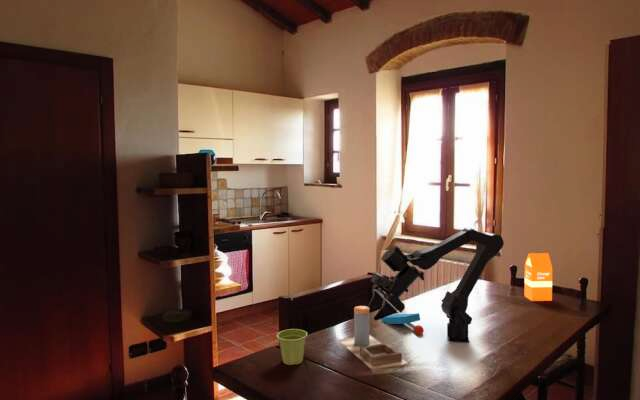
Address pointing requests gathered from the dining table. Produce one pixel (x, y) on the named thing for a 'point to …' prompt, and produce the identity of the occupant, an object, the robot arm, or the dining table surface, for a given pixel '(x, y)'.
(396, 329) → the dining table surface
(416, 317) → the lever
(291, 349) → the plant pot
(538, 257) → the orange juice
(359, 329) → the orange-capped blue cylinder
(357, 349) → the jig
